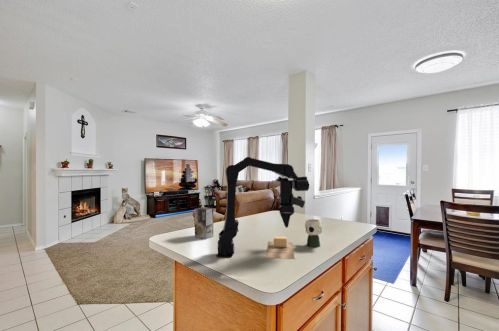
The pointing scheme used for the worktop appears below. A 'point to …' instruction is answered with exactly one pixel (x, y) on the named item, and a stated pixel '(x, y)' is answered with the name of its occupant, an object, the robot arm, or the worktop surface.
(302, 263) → the worktop surface
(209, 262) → the worktop surface
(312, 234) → the character mug
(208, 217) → the coffee box
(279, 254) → the board
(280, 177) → the robot arm
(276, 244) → the block
